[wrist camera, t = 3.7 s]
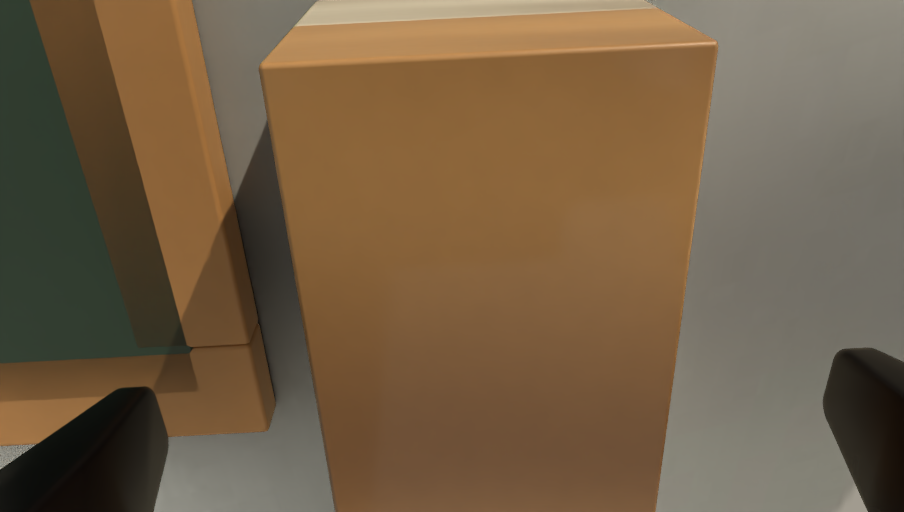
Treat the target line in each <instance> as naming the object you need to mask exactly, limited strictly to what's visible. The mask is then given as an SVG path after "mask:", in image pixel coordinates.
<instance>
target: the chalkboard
mask: <svg viewBox="0 0 904 512" xmlns="http://www.w3.org/2000/svg"><path fill="white" fill-rule="evenodd" d="M257 321H258V316H257V311H256V306H255V302H254V297H253V292H252V287H251V282H250V278H249V273H248V268H247V263H246V258H245V254H244V249H243V244H242V239H241V234H240V229H239V225H238V220H237V215H236V210H235V205H234V201H233V196H232V191H231V186H230V181H229V177H228V172H227V167H226V162H225V157H224V153H223V148H222V143H221V138H220V133H219V129H218V124H217V119H216V114H215V109H214V105H213V100H212V95H211V90H210V85H209V81H208V76H207V71H206V66H205V61H204V57H203V52H202V47H201V42H200V37H199V32H198V28H197V23H196V18H195V13H194V8H193V4H192V0H0V446H11V445H29V444H38V443H39V442H41V441H42V440H44V439H45V438H47V437H48V436H50V435H51V434H52V433H54V432H55V431H57V430H58V429H60V428H61V427H62V426H64V425H65V424H67V423H68V422H70V421H71V420H73V419H74V418H75V417H77V416H78V415H80V414H81V413H83V412H84V411H85V410H87V409H88V408H90V407H91V406H93V405H94V404H96V403H97V402H98V401H100V400H101V399H103V398H104V397H106V396H107V395H108V394H110V393H111V392H113V391H114V390H116V389H118V388H123V387H142V386H147V387H149V388H151V389H152V390H153V391H154V393H155V395H156V397H157V401H158V404H159V407H160V410H161V413H162V417H163V420H164V423H165V426H166V430H167V433H168V437H176V436H194V435H212V434H231V433H249V432H265V431H268V429H269V427H270V423H271V420H272V416H273V413H274V409H275V406H276V403H275V398H274V393H273V388H272V384H271V379H270V374H269V369H268V364H267V360H266V355H265V350H264V345H263V340H262V336H261V331H260V326H259V324H258V323H257Z"/></svg>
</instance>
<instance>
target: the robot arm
mask: <svg viewBox="0 0 904 512" xmlns="http://www.w3.org/2000/svg"><path fill="white" fill-rule="evenodd" d="M823 409H824V413H825V416H826V419H827V421H828V423H829V426H830V428H831V430H832V432H833V435H834V437H835V439H836V441H837V444H838V446H839V448H840V450H841V453H842V455H843V457H844V459H845V462H846V464H847V466H848V468H849V471H850V473H851V475H852V477H853V480H854V482H855V484H856V486H857V489H858V491H859V493H860V495H861V498H862V500H863V502H864V504H865V506H866V508H867V510H868V512H904V362H902V361H900V360H898V359H896V358H893V357H891V356H889V355H887V354H885V353H883V352H881V351H878V350H876V349H874V348H850V349H842V350H840V351H839V352H837V354H836V355H835V357H834V359H833V363H832V367H831V370H830V374H829V378H828V382H827V385H826V389H825V393H824V397H823ZM167 453H168V433H167V430H166V426H165V423H164V420H163V417H162V413H161V410H160V407H159V404H158V401H157V397H156V395H155V393H154V391H153V390H152V389H151V388H149V387H147V386H142V387H123V388H118V389H116V390H114V391H113V392H111V393H110V394H108V395H107V396H106V397H104V398H103V399H101V400H100V401H98V402H97V403H96V404H94V405H93V406H91V407H90V408H88V409H87V410H85V411H84V412H83V413H81V414H80V415H78V416H77V417H75V418H74V419H73V420H71V421H70V422H68V423H67V424H65V425H64V426H62V427H61V428H60V429H58V430H57V431H55V432H54V433H52V434H51V435H50V436H48V437H47V438H45V439H44V440H42V441H41V442H39V443H38V444H37V445H35V446H34V447H32V448H31V449H29V450H28V451H26V452H25V453H24V454H22V455H21V456H19V457H18V458H16V459H15V460H14V461H12V462H11V463H9V464H8V465H6V466H5V467H3V468H2V469H1V470H0V512H153V511H154V507H155V503H156V498H157V494H158V490H159V486H160V482H161V478H162V474H163V469H164V465H165V461H166V457H167Z"/></svg>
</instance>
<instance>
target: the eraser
mask: <svg viewBox="0 0 904 512" xmlns="http://www.w3.org/2000/svg"><path fill="white" fill-rule="evenodd" d="M717 53H718V43H717V41H716V40H714V39H712V38H710V37H709V36H707V35H705V34H703V33H702V32H700V31H698V30H696V29H694V28H693V27H691V26H689V25H687V24H685V23H684V22H682V21H680V20H678V19H677V18H675V17H673V16H671V15H669V14H668V13H666V12H664V11H662V10H661V9H658V8H657V7H655V6H654V5H652V4H650V3H648V2H647V1H645V0H322V1H317V2H315V3H314V4H313V5H312V6H311V8H310V9H309V10H308V11H307V12H306V13H305V14H304V15H303V17H302V18H301V19H300V20H299V21H298V22H297V23H296V24H295V25H294V27H293V28H292V29H291V30H290V31H289V32H288V33H287V35H286V36H285V37H284V38H283V39H282V40H281V41H280V42H279V44H278V45H277V46H276V47H275V48H274V49H273V50H272V51H271V52H270V54H269V55H268V56H267V57H266V58H265V59H264V60H263V61H262V63H261V64H260V66H259V73H260V79H261V85H262V91H263V96H264V102H265V108H266V114H267V120H268V125H269V131H270V137H271V143H272V148H273V154H274V160H275V166H276V172H277V177H278V183H279V189H280V195H281V201H282V206H283V212H284V218H285V224H286V230H287V235H288V241H289V247H290V253H291V259H292V264H293V270H294V276H295V282H296V288H297V293H298V299H299V305H300V311H301V317H302V322H303V328H304V334H305V340H306V345H307V351H308V357H309V363H310V369H311V374H312V380H313V386H314V392H315V398H316V403H317V409H318V415H319V421H320V427H321V432H322V438H323V444H324V450H325V456H326V461H327V467H328V473H329V479H330V485H331V490H332V496H333V502H334V508H335V512H655V511H656V503H657V496H658V488H659V481H660V474H661V466H662V459H663V452H664V444H665V437H666V429H667V422H668V415H669V407H670V400H671V392H672V385H673V378H674V370H675V363H676V355H677V348H678V341H679V333H680V326H681V319H682V311H683V304H684V296H685V289H686V282H687V274H688V267H689V259H690V252H691V245H692V237H693V230H694V222H695V215H696V208H697V200H698V193H699V186H700V178H701V171H702V163H703V156H704V149H705V141H706V134H707V126H708V119H709V112H710V104H711V97H712V90H713V82H714V75H715V67H716V60H717Z"/></svg>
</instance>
